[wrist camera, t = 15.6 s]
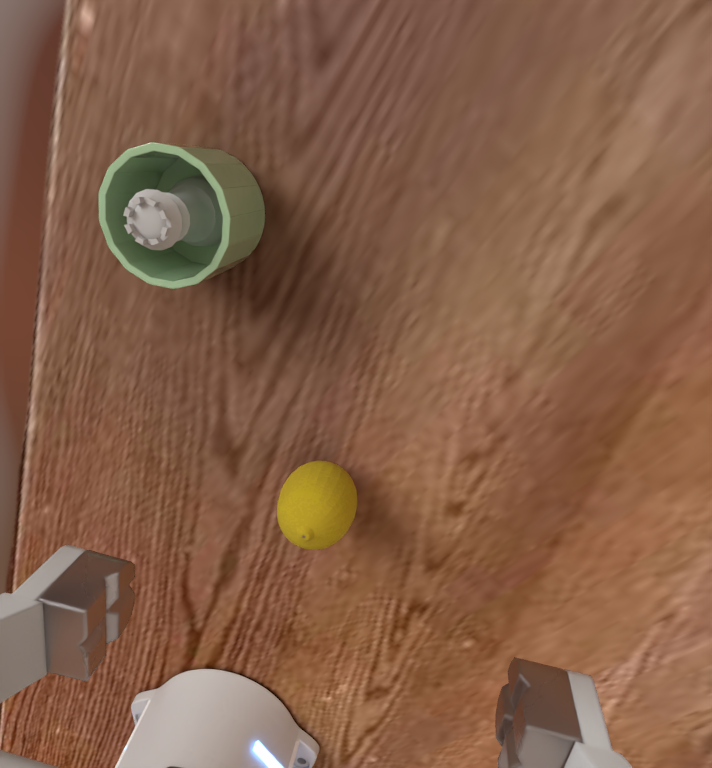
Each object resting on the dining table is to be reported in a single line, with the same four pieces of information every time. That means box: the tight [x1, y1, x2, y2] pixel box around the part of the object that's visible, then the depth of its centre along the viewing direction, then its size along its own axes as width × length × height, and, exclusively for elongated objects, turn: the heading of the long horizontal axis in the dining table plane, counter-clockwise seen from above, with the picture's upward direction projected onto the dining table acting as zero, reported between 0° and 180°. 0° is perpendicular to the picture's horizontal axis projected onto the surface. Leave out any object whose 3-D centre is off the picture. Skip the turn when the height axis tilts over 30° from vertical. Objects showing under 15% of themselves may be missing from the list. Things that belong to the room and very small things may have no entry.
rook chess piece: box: [123, 175, 223, 250], centre depth 34 cm, size 4×4×8 cm
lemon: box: [277, 461, 357, 550], centre depth 41 cm, size 6×6×8 cm
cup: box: [99, 142, 265, 289], centre depth 36 cm, size 8×8×6 cm
